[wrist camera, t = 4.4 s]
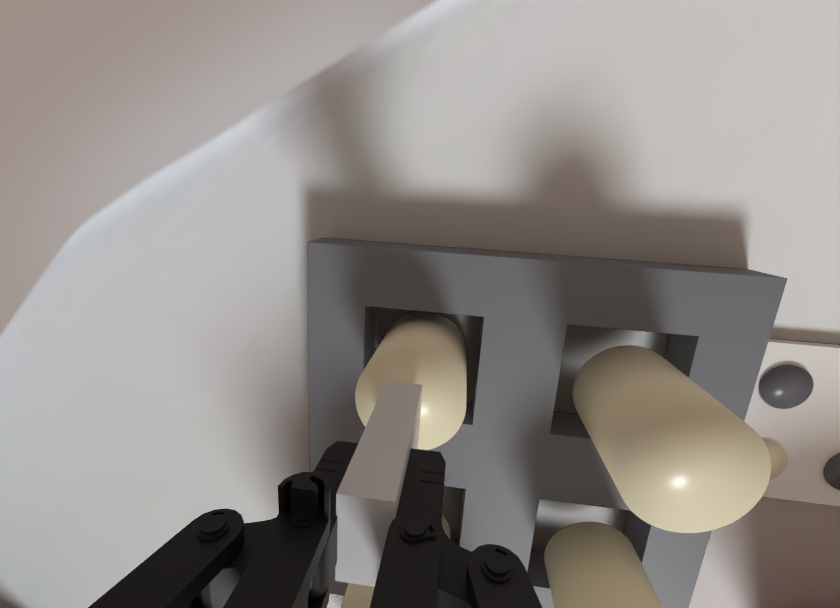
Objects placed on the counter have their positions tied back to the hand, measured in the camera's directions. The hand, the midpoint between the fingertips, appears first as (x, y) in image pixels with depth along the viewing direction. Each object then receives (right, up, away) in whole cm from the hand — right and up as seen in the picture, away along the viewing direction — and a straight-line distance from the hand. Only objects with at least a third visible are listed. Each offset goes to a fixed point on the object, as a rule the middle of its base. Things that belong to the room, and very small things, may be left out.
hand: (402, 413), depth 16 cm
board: (+6, -3, +8) cm, 10 cm away
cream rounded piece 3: (+10, -9, +5) cm, 15 cm away
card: (+22, -2, +5) cm, 22 cm away
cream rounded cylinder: (+1, +2, +6) cm, 7 cm away
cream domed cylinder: (+11, 0, +3) cm, 11 cm away
